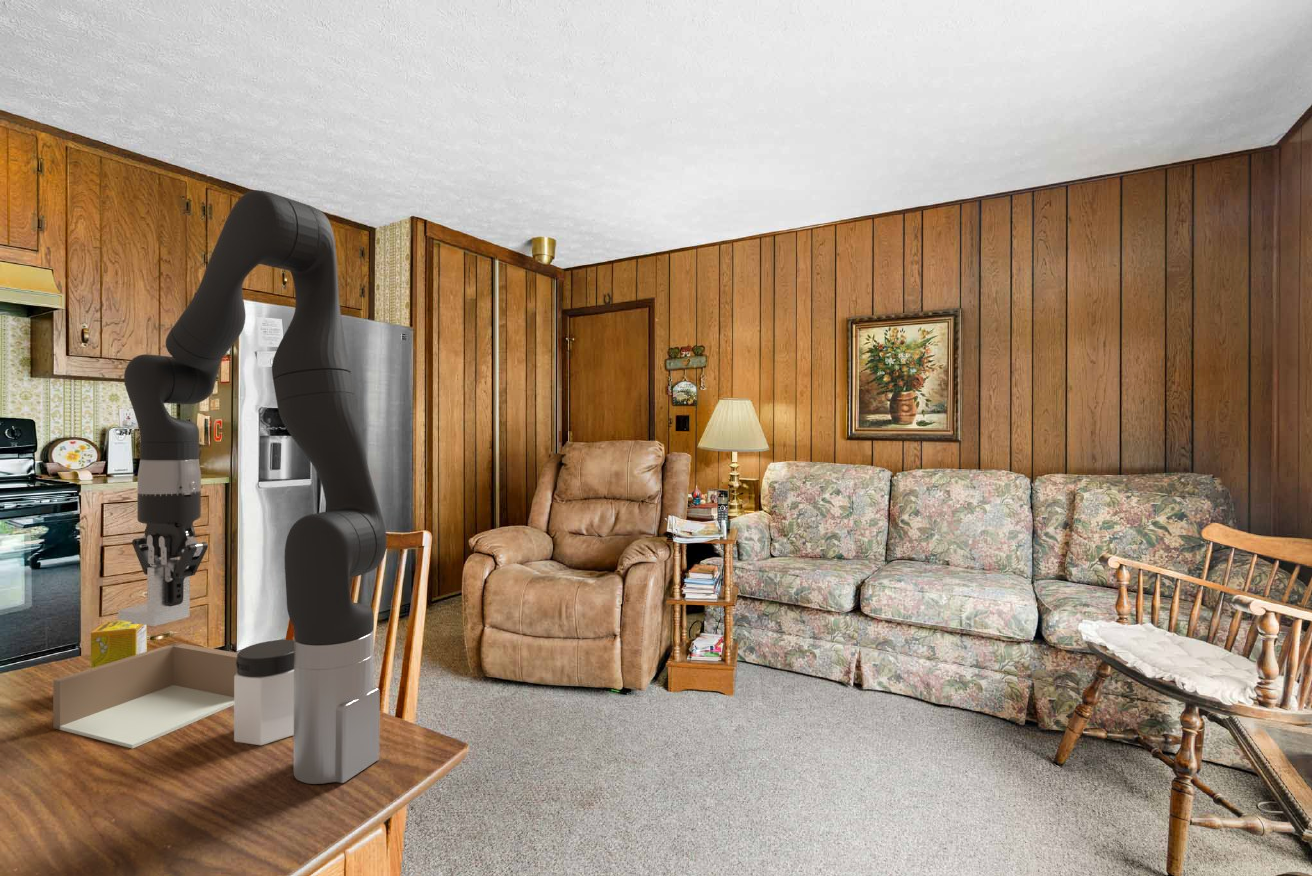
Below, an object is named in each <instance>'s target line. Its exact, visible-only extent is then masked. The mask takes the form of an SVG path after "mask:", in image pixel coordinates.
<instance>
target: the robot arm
mask: <svg viewBox="0 0 1312 876" xmlns="http://www.w3.org/2000/svg"><path fill="white" fill-rule="evenodd" d="M335 240H336V239H335V234H334V231H333V228H332V225H331V222H330V220H329V218H328V216H326V214H324V213H323V212H322V210H319V209H318V208H316V207H314V206H311V205H309V204H306V203H303V202H300V201H297V200H294V199H291V198H288V197H286V196H282V195H279V194H276V193H273V192H269V191H266V190H259V189H254V190H250V191H248V192H246V193H244V194H243V195H242V196H240V197H239V198H238V200H237V201H236V202H235V203H234V205H233V207H232V208H231V210H230V212H229V214H228V216H227V218H226V219H225V223H224V224H223V226H222V229H221V231H220V234H219V236H218V239H217V241H216V243H215V245H214V249H213V250H212V253H211V256H210V257H209V260H208V263H207V266H206V269H205V270H204V274H203V276H202V279H201V281H200V283H199V285H198V288H197V290H196V292H195V294H194V295H193V297H192V299H191V301H190V302H189V304H188V305H187V307H186V308H185V310H184V311H183V312H182V314H181V315H180V316H179V318H178V320H177V321H175V323H174V325H173V327H172V328H171V329H170V331H169V332H168V334H167V336H166V338H165V347H166V350H167V352H168V353H169V355H170V356H166V355H159V354H139V355H137V356H134V357H133V358H132V359H131V360H130V361H129V362H128V364H127V365H126V368H125V370H124V373H123V375H124V376H123V381H124V386H125V389H126V392H127V397H128V398H129V401H130V403H131V406H132V409H133V412H134V415H135V419H136V423H137V427H138V432H139V465H138V466H139V467H138V472H137V517H136V518H137V519H136V520H137V522H138V523H140V524H146V525H145V529H144V535H143V536H142V537H139V538H134V539H132V541H131V544H132V545H131V546H132V548H133V549H134V552H135V555H136V556H137V559H138V563H139V564H140V566H141V570H142V571H143V574H144V575H146V576H147V568H149V567H154V566H160V565H162V566H164V567H165V580H166V582H165V606H169V607H171V606H175V605H179V604H181V603H182V602H183V591H184V579H185V578H187V577H188V576H190V577H192V576H195V575H196V573H197V571H198V569H199V567H200V564H201V563H202V561H203V558H204V556H205V555H206V552H207V550H208V548H209V545H208V543H207V542H205V541H202V542H199V540H197V539H196V530H195V528H194V522H195V521H197V520H199V519H200V518H201V515H202V513H201V511H202V494H201V493H202V488H201V487H202V470H201V466H200V431H199V430H200V429H199V426H198V425H197V424H196V422H193V421H190V420H185V419H182V418H181V419H180V418H177V417H173V416H172V415H171V414H170V413H169V411H168V410H167V408H166V405H165V404H174V405H175V404H177V405H196V404H200V403H201V402H204V401H205V400H207V399H208V398H209V397H210V396H211V395H212V393H213V392H214V389H215V385H216V381H217V376H218V373H219V369H220V367H221V363H222V360H223V359H224V357H225V356H226V355H227V354H228V352H229V351H230V349H231V348H232V346H234V345H235V343H236V341H237V340H238V339H239V337H240V335H241V334H242V332H243V330H244V328H245V327H244V326H245V324H246V308H245V301H244V300H245V299H244V296H243V295H244V294H243V284H244V281H245V279H246V278H247V276H248V275H250V273H251V272H252V271H253V270H254V269H255V268H256V267H257V266H259V265H263V266H267V267H271V268H274V269H275V268H276V269H280V270H285V271H289V272H290V273H291V274H290V275H291V276H292V281H293V286H294V295H295V296H294V298H295V307H294V308H295V309H294V314H293V317H292V319H291V321H290V324H289V326H288V327H287V330H286V331H285V333H284V335H283V337H282V338H281V341H280V343H279V345H278V347H277V349H276V351H275V353H274V356H273V359H272V364H271V374H272V380H273V382H272V383H273V387H274V394H275V399H276V405H277V410H278V413H279V417H280V419H281V422H282V423H283V425H284V427H285V429H286V430H287V432H288V433H289V435H290V436H291V438H292V439H293V440H294V442H295V443H296V445H297V446H298V447H299V449H300V450H301V451H302V452H303V454H304V455H305V456H306V458H307V459H308V461H310V463H311V464H312V467H314V469H315V471H316V473H317V476H318V478H319V480H320V483H321V486H322V490H323V491H322V492H323V495H324V500H325V501H324V502H325V507H326V511H322V512H317V513H311V514H308V515H305V516H303V517H301V518H299V519H298V520H297V521H295V522H294V524H293V525H292V526H291V528H290V529H289V532H288V534H287V537H286V540H285V541H286V542H285V545H284V546H285V547H284V575H285V594H286V607H287V608H286V609H287V614H288V617H289V620H290V623H291V624H292V627H293V640H294V735H293V777H294V778H295V779H296V780H297V781H299V782H301V783H305V784H310V785H311V784H313V785H317V784H319V785H320V784H322V785H323V784H328V783H340V784H344V783H347V781H349V780H350V779H351V778H354V777H355V776H356V775H358V774H359V773H361V772H362V771H363V770H365V769H367V768H368V767H369V766H370V767H371V765H373V764H374V763H376V762H377V761H378V760H380V705H381V703H380V702H381V701H380V697H381V696H380V695H381V693H380V688H377V687H374V650H375V649H374V647H375V645H374V644H375V643H374V642H375V640H374V639H375V638H374V635H375V634H374V633H375V631H374V630H375V629H374V627H375V622H374V621H375V617H374V611H373V609H372V608H371V607H370V606H369V605H367V604H365V603H364V604H363V603H360V602H353V600H352V597H351V596H352V595H351V584H350V583H351V582H350V581H351V580H350V579H354V578H356V577H359V576H362V575H365V574H368V573H370V572H372V571H374V570H375V569H377V567H379V566H380V565H381V563H382V562H383V560H384V557H385V555H386V552H387V551H386V550H387V541H388V540H387V531H386V526H385V522H384V517H383V514H382V510H381V507H380V504H379V501H378V497H377V494H376V490H375V488H374V484H373V480H372V476H371V473H370V469H369V463H368V460H367V457H366V456H367V455H366V449H365V444H364V440H363V435H362V431H361V425H360V421H359V416H358V415H359V413H358V408H357V400H356V393H355V387H354V382H353V375H352V369H351V366H350V361H349V357H348V352H347V351H348V350H347V345H346V340H345V332H344V326H343V319H342V312H341V304H340V291H339V275H338V274H339V273H338V260H337V259H338V258H337V248H336V241H335ZM175 565H177V566H176V569H175V571H174V566H175ZM188 566H189V567H188ZM187 567H188V568H187Z"/></svg>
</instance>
